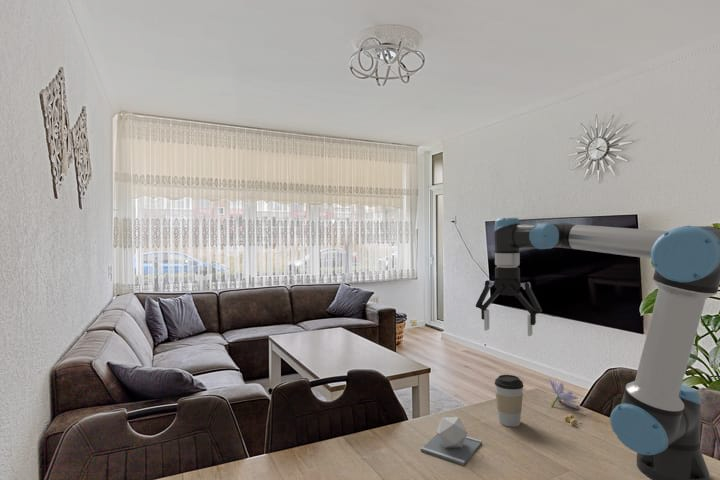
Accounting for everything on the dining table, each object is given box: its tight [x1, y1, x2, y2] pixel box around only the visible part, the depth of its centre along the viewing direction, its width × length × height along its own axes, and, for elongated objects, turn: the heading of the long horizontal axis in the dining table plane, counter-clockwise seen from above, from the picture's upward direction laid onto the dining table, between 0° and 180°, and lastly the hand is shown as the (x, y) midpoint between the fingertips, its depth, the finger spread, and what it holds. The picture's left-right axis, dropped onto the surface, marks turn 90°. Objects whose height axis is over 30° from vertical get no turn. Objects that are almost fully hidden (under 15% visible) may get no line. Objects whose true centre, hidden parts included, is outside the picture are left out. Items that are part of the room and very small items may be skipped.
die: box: [435, 416, 469, 448], centre depth 122 cm, size 8×9×10 cm
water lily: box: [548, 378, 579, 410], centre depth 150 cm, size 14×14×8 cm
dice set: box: [563, 413, 583, 427], centre depth 137 cm, size 5×5×2 cm
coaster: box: [420, 434, 483, 466], centre depth 122 cm, size 13×14×1 cm
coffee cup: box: [494, 374, 524, 427], centre depth 138 cm, size 9×9×15 cm
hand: (507, 332), depth 134 cm, fingers open, 13 cm apart
